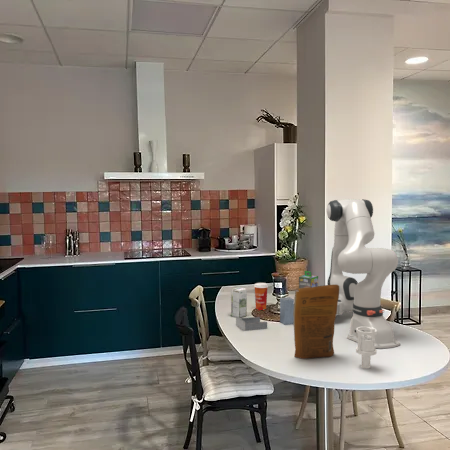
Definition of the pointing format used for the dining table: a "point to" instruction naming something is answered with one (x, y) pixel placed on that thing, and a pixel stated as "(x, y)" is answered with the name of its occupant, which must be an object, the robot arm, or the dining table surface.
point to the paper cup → (261, 295)
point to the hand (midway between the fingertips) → (308, 306)
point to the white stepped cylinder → (366, 345)
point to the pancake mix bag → (315, 321)
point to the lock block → (286, 310)
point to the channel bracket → (250, 323)
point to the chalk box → (308, 280)
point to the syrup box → (239, 302)
